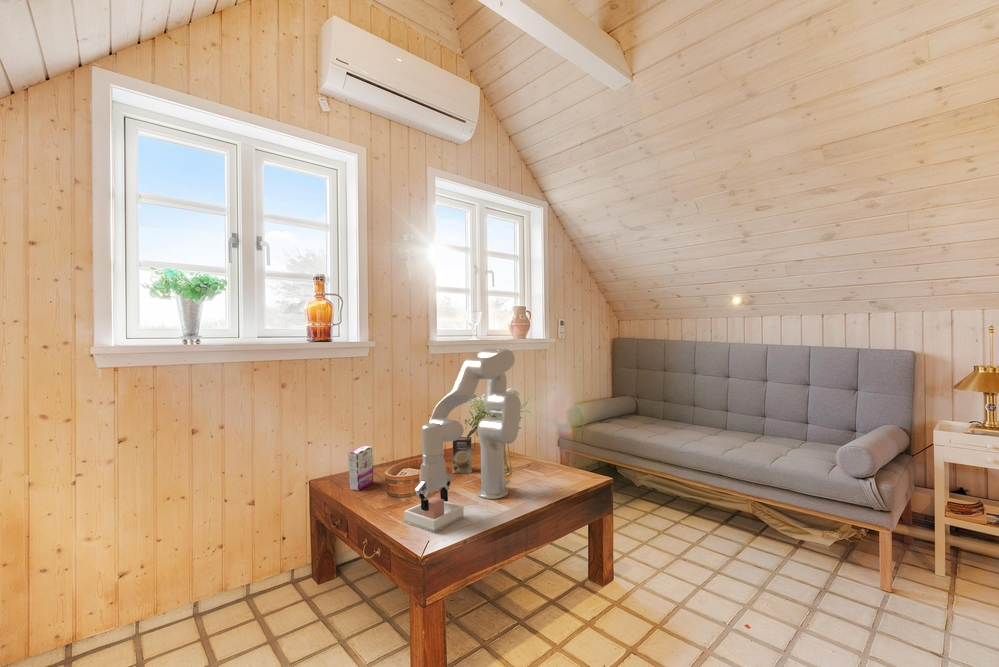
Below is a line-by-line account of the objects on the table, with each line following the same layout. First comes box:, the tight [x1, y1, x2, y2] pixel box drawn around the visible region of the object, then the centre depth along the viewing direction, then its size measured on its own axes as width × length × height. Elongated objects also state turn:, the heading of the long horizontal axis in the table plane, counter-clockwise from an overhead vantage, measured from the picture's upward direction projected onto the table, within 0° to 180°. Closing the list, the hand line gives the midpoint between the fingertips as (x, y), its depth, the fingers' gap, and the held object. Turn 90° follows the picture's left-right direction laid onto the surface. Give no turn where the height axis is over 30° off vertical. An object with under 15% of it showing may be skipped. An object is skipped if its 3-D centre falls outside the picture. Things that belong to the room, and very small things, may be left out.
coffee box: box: [452, 436, 473, 474], centre depth 215 cm, size 9×6×16 cm
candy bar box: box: [348, 445, 374, 491], centre depth 198 cm, size 11×5×16 cm, turn 161°
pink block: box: [424, 496, 444, 519], centre depth 161 cm, size 5×5×6 cm
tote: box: [403, 501, 465, 534], centre depth 161 cm, size 15×15×4 cm
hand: (434, 505), depth 161 cm, fingers open, 9 cm apart
